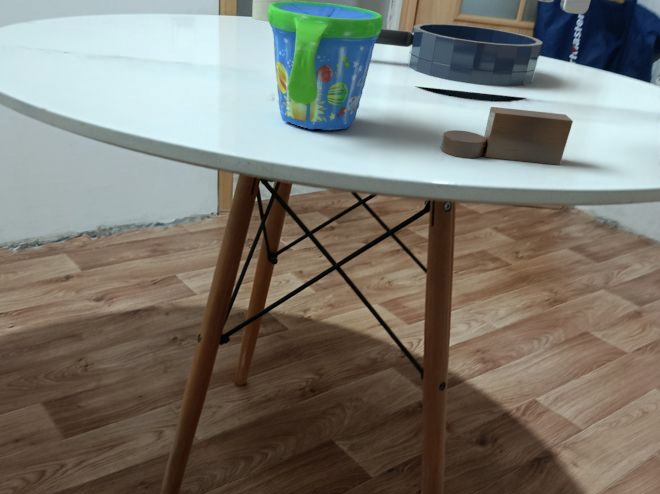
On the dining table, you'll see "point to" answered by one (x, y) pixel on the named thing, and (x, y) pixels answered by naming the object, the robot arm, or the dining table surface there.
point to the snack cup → (321, 60)
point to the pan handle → (395, 38)
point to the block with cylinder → (514, 137)
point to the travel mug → (263, 8)
